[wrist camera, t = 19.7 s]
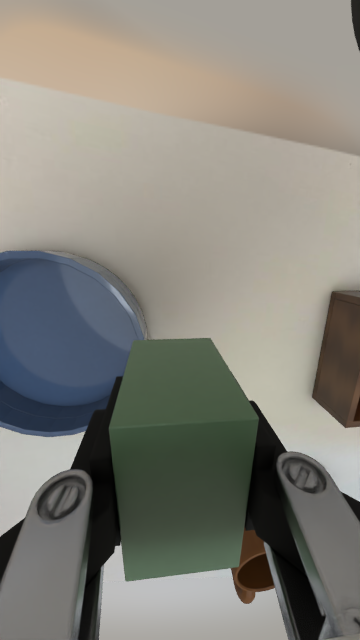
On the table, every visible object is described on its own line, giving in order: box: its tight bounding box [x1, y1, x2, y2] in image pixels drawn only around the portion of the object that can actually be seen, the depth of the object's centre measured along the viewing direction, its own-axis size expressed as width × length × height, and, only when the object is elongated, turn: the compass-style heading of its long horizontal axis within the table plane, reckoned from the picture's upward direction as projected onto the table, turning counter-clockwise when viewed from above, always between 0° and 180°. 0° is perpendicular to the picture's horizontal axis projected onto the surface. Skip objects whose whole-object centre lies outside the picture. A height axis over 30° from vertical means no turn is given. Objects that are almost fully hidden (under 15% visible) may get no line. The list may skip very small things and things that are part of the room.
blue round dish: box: [0, 251, 147, 437], centre depth 22 cm, size 18×18×4 cm
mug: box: [231, 527, 275, 604], centre depth 30 cm, size 12×8×9 cm, turn 169°
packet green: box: [109, 338, 259, 581], centre depth 8 cm, size 6×3×5 cm, turn 0°
